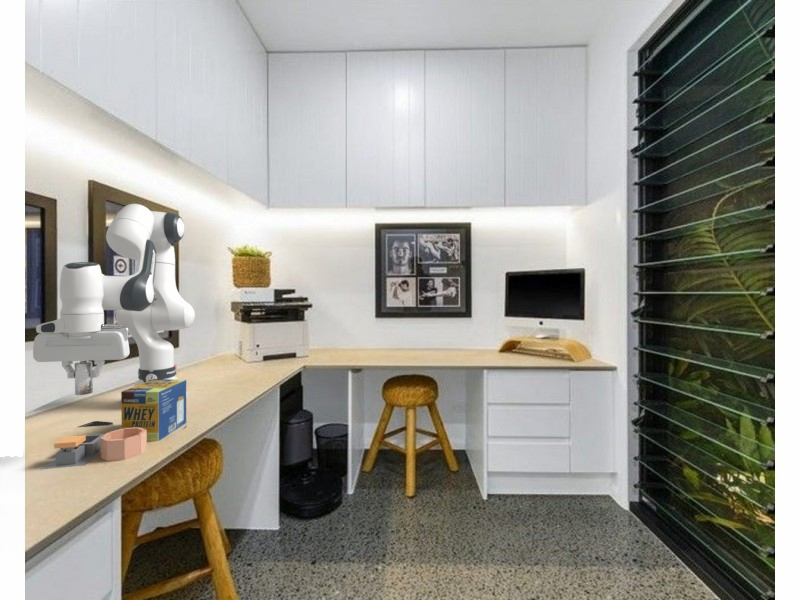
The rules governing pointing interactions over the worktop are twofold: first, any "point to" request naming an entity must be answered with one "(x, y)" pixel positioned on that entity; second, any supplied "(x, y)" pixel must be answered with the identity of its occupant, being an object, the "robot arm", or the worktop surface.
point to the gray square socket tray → (78, 453)
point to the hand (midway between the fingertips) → (83, 377)
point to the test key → (70, 442)
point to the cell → (83, 378)
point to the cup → (123, 443)
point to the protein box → (155, 407)
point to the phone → (97, 424)
